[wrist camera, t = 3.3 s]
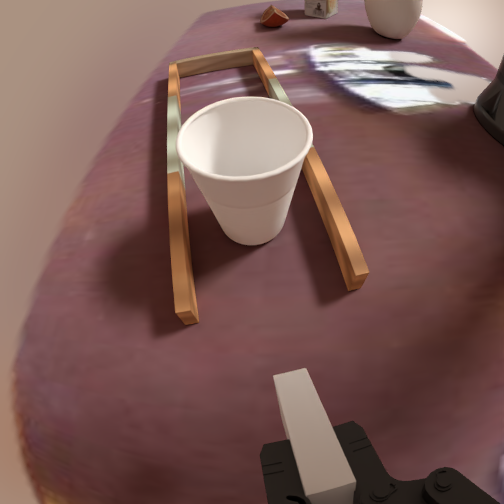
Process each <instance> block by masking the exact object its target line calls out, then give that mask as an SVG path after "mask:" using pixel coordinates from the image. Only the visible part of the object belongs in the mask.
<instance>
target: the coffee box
mask: <svg viewBox="0 0 504 504" xmlns="http://www.w3.org/2000/svg"><path fill="white" fill-rule="evenodd" d="M337 11H338V0H305V15H307V16H313V17H318V18H323V19H327V18H329V17H330V16H332V15H334V14H336V13H337Z"/></svg>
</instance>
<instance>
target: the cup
mask: <svg viewBox="0 0 504 504" xmlns="http://www.w3.org/2000/svg"><path fill="white" fill-rule="evenodd" d="M312 139H313V133H312V128H311V126H310V124H309V122H308V120H307V119H306V117H305V116H304V115H303V114H302V113H301V112H300V111H298V110H297V109H295V108H294V107H292V106H290V105H288V104H286V103H284V102H281V101H278V100H275V99H270V98H264V97H237V98H231V99H226V100H223V101H219V102H216V103H213V104H211V105H208V106H206V107H204V108H203V109H201V110H199V111H197V112H196V113H195V114H193V115H192V116H191V117H190V118H189V119H188V120H187V121H186V122H185V123H184V124H183V125H182V127H181V129H180V130H179V132H178V135H177V138H176V152H177V155H178V158H179V159H180V161H181V162H182V163H183V165H184V166H185V167H187V168H188V170H189V171H190V173H191V175H192V177H193V178H194V180H195V182H196V184H197V186H198V187H199V189H200V190H201V192H202V194H203V196H204V198H205V199H206V201H207V203H208V205H209V206H210V208H211V210H212V212H213V213H214V215H215V217H216V219H217V221H218V223H219V224H220V226H221V228H222V230H223V231H224V233H225V234H226V235H227V236H228V237H229V238H230V239H232V240H233V241H235V242H237V243H240V244H244V245H258V244H263V243H265V242H268V241H270V240H271V239H273V238H274V237H275V236H277V235H278V233H279V232H280V231H281V229H282V227H283V225H284V222H285V219H286V216H287V212H288V209H289V205H290V202H291V199H292V196H293V193H294V190H295V186H296V183H297V180H298V177H299V174H300V171H301V168H302V164H303V161H304V158H305V156H306V155H307V153H308V151H309V149H310V147H311V145H312Z"/></svg>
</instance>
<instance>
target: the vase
mask: <svg viewBox="0 0 504 504" xmlns="http://www.w3.org/2000/svg"><path fill="white" fill-rule="evenodd" d="M364 1H365V9H366V13H367V16H368V19H369V22H370V24H371V26H372V28H373V29H374V30H375V31H376V32H377V33H378V34H380V35H382V36H384V37H387V38H391V39H401V38H404V37H406V36H407V35H408V34H409V33H410V32H411V31H412V29H413V28H414V27H415V25H416V23H417V21H418V19H419V17H420V14H421V10H422V0H364Z"/></svg>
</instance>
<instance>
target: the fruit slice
mask: <svg viewBox="0 0 504 504" xmlns="http://www.w3.org/2000/svg"><path fill="white" fill-rule="evenodd" d="M288 20H289V18H288V17H287V15H286V14H284V13H283V12H282V11H280V10H279V9H277V8H275V7H274V6H272V5H271V6H270V7H268V8H267V9H266V10H265V11H264V13H263V15H262V18H261V20H260V22H261V23H262V24H263V25H265V26H268V27H277V26H280V25H282V24H284V23H286V22H287V21H288Z"/></svg>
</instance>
